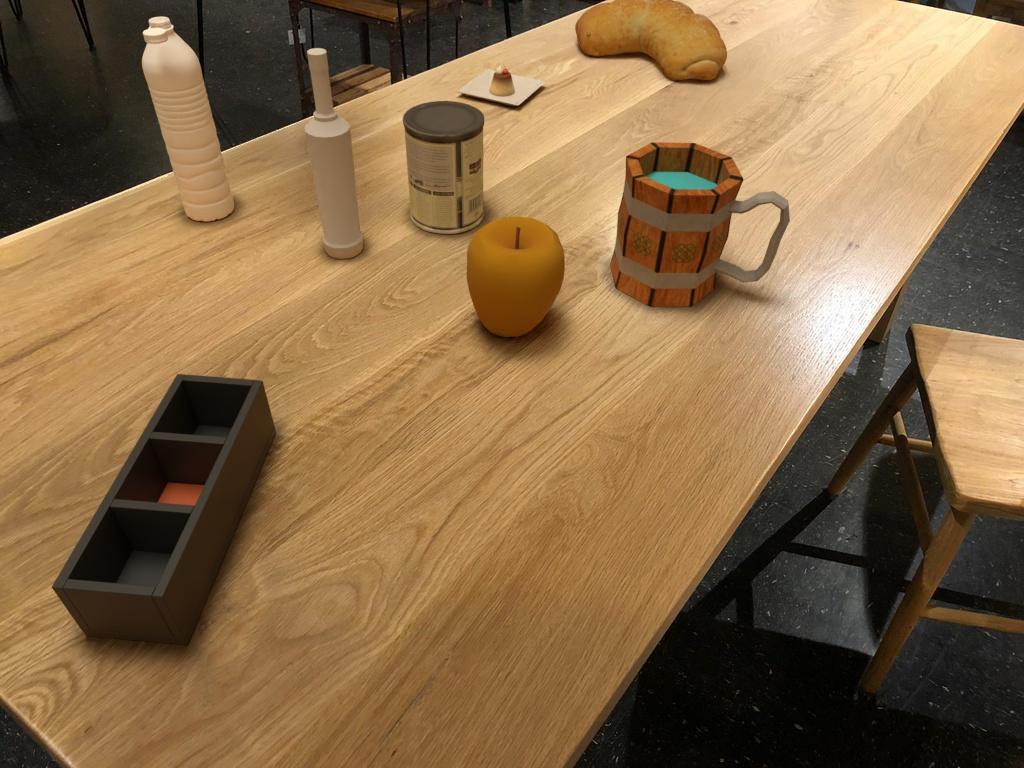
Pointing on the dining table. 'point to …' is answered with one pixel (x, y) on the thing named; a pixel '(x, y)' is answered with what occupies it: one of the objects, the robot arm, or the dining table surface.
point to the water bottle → (186, 122)
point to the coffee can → (445, 166)
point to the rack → (170, 513)
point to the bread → (655, 36)
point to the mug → (682, 223)
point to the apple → (514, 274)
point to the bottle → (332, 166)
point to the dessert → (501, 87)
